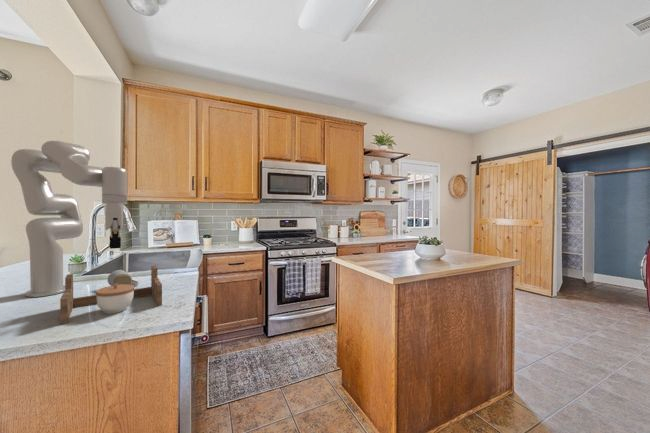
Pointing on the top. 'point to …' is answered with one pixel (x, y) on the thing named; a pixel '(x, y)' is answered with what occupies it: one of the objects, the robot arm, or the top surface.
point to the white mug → (121, 278)
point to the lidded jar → (115, 298)
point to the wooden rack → (69, 302)
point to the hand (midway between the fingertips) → (115, 246)
